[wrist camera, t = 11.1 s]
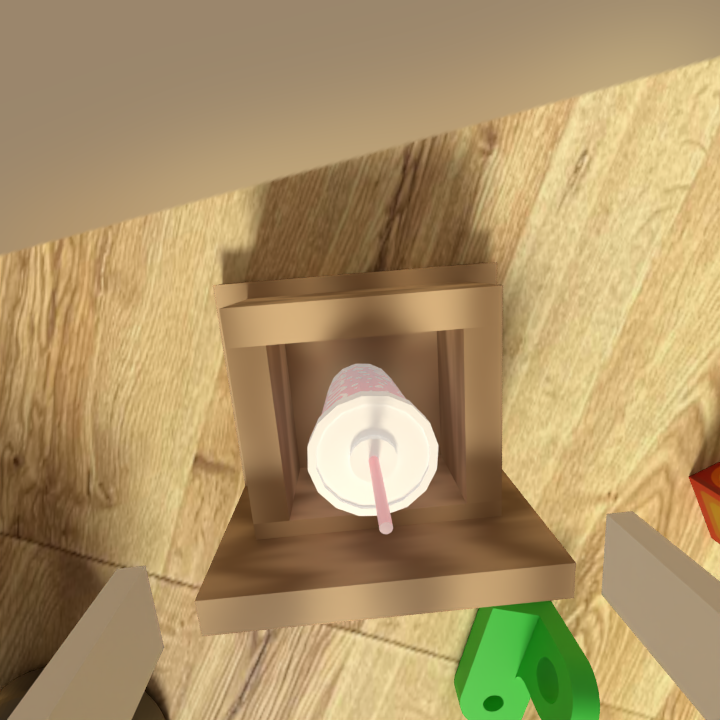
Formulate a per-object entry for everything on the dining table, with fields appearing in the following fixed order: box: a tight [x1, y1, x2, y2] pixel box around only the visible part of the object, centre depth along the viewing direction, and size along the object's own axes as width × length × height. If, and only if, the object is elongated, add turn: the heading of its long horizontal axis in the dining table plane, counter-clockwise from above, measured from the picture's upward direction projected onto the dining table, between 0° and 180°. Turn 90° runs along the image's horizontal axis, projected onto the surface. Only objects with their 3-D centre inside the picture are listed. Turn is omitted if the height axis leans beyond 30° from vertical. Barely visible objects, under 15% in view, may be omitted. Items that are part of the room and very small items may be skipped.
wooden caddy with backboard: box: [195, 263, 576, 636], centre depth 23 cm, size 18×16×12 cm
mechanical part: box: [454, 601, 600, 720], centre depth 32 cm, size 12×6×8 cm, turn 167°
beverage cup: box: [307, 364, 438, 534], centre depth 20 cm, size 6×6×14 cm
